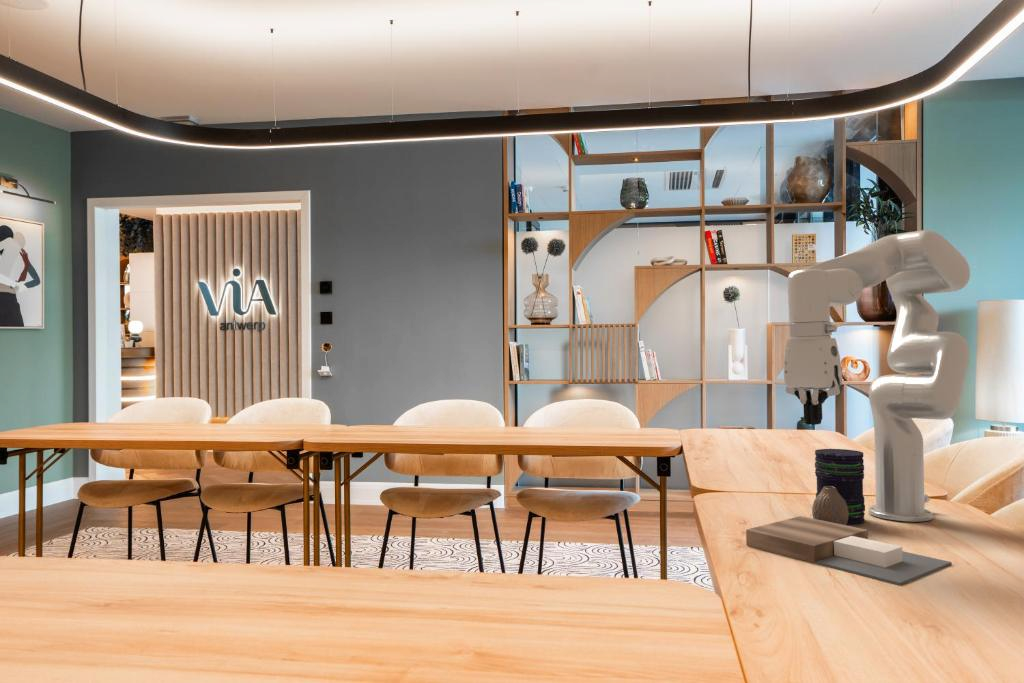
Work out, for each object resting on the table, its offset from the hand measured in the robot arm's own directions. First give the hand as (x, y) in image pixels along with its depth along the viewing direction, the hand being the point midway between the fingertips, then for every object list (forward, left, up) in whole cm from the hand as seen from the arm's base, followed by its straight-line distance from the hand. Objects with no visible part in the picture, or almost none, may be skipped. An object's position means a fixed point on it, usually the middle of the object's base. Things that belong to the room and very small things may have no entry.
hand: (813, 423), depth 136 cm
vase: (-9, -2, -23) cm, 25 cm away
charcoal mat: (+6, +16, -23) cm, 28 cm away
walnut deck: (+6, +2, -23) cm, 23 cm away
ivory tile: (+6, +13, -22) cm, 27 cm away
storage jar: (-18, -5, -23) cm, 30 cm away
